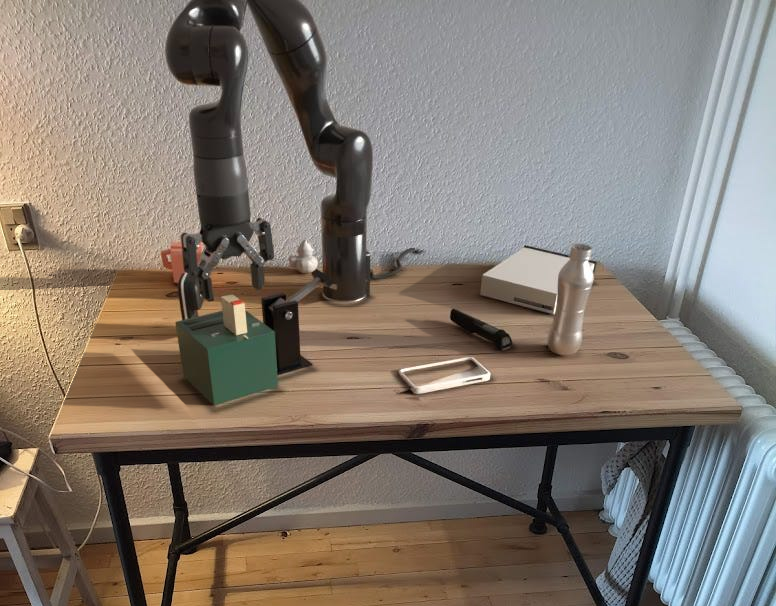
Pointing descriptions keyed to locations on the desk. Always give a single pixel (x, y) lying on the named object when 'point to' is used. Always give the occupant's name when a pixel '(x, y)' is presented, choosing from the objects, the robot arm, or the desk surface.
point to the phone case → (449, 377)
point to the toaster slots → (205, 319)
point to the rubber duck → (304, 258)
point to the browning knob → (234, 314)
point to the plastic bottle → (571, 301)
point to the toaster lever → (306, 288)
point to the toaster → (228, 358)
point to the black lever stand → (284, 333)
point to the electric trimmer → (481, 329)
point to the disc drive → (527, 279)
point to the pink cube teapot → (177, 259)
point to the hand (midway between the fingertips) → (233, 293)
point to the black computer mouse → (189, 296)
